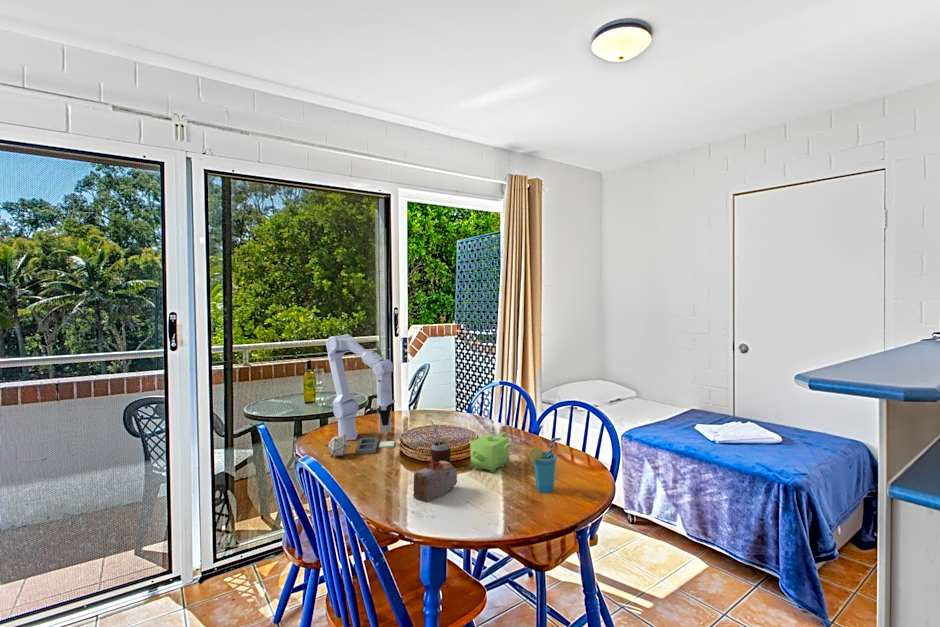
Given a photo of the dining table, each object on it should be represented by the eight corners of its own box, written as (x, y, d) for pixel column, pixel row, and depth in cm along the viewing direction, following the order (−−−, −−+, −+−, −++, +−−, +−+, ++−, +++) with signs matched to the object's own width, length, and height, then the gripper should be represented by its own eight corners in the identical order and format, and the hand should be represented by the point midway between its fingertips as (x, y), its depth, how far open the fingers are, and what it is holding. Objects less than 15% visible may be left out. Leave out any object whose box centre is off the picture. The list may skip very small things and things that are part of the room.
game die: (339, 467, 187) (331, 452, 180) (325, 455, 191) (318, 440, 185) (357, 451, 192) (350, 435, 185) (344, 440, 196) (337, 424, 190)
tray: (379, 443, 203) (379, 441, 203) (394, 442, 203) (394, 440, 203) (378, 447, 197) (378, 446, 197) (393, 446, 197) (393, 445, 197)
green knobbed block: (505, 458, 181) (505, 427, 180) (517, 472, 167) (516, 439, 166) (465, 462, 178) (464, 431, 177) (473, 477, 164) (472, 444, 163)
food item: (440, 483, 160) (439, 453, 159) (459, 488, 155) (458, 457, 155) (411, 498, 149) (409, 466, 148) (430, 504, 144) (429, 471, 144)
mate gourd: (448, 470, 171) (446, 427, 170) (426, 469, 172) (424, 426, 171) (453, 462, 178) (451, 421, 177) (432, 461, 180) (430, 420, 179)
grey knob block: (381, 429, 201) (380, 413, 201) (391, 429, 202) (390, 413, 201) (380, 432, 197) (379, 416, 197) (390, 432, 198) (390, 415, 197)
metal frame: (360, 442, 204) (359, 438, 204) (378, 441, 205) (378, 437, 205) (355, 454, 189) (355, 450, 189) (375, 453, 190) (375, 449, 190)
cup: (551, 478, 160) (550, 433, 159) (571, 485, 154) (569, 438, 153) (522, 492, 151) (521, 443, 150) (542, 499, 145) (541, 449, 144)
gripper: (393, 393, 192) (394, 428, 193) (395, 386, 206) (396, 418, 207) (375, 394, 191) (376, 429, 192) (378, 387, 205) (379, 419, 206)
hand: (385, 423), depth 199 cm, fingers closed on grey knob block, 4 cm apart
